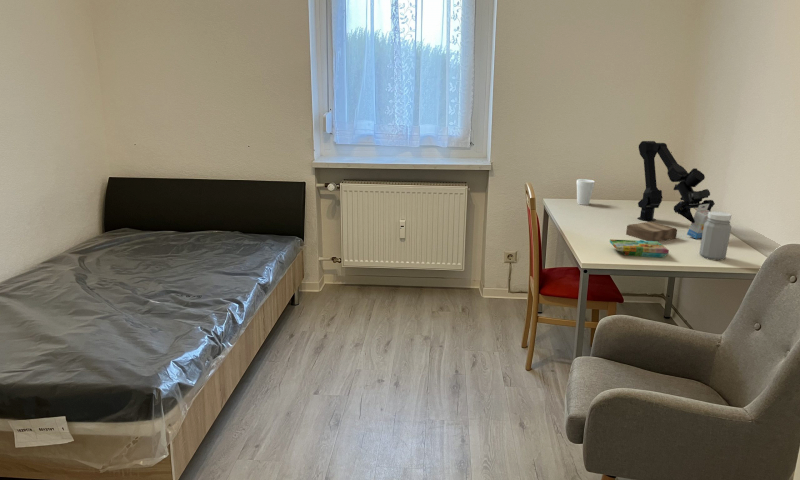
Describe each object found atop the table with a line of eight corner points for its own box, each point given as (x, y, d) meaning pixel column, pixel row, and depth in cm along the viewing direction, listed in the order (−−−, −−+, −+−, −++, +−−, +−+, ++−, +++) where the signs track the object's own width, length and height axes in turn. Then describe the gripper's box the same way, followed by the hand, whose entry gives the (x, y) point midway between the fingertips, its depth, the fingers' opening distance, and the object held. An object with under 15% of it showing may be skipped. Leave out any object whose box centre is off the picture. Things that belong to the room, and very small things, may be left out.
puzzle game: (669, 247, 240) (617, 245, 241) (667, 259, 241) (615, 256, 242) (659, 240, 251) (610, 237, 252) (657, 250, 252) (608, 248, 254)
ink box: (696, 239, 271) (708, 209, 265) (686, 234, 275) (698, 204, 268) (706, 237, 276) (719, 207, 269) (697, 232, 279) (709, 203, 273)
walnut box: (649, 231, 283) (651, 221, 282) (675, 239, 272) (677, 228, 270) (625, 235, 276) (627, 224, 274) (651, 243, 264) (653, 232, 263)
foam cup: (571, 203, 336) (574, 180, 333) (577, 201, 343) (580, 178, 340) (588, 206, 331) (591, 182, 327) (594, 203, 338) (597, 180, 335)
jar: (696, 252, 251) (704, 209, 246) (722, 255, 248) (730, 212, 243) (700, 259, 242) (708, 215, 237) (727, 262, 239) (736, 217, 234)
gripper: (682, 183, 270) (697, 213, 262) (715, 182, 275) (730, 211, 268) (666, 197, 279) (681, 226, 272) (698, 196, 285) (713, 224, 278)
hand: (702, 222), depth 272 cm, fingers closed on ink box, 9 cm apart
